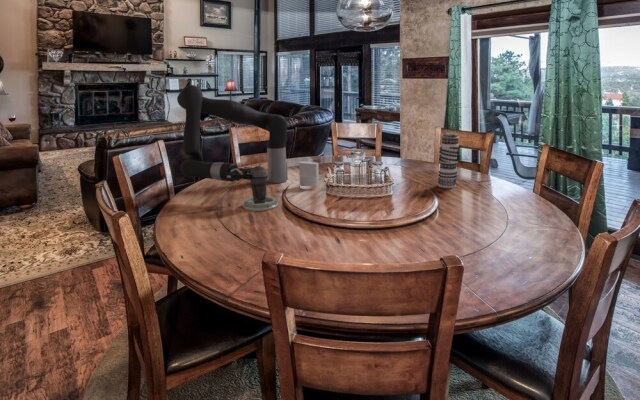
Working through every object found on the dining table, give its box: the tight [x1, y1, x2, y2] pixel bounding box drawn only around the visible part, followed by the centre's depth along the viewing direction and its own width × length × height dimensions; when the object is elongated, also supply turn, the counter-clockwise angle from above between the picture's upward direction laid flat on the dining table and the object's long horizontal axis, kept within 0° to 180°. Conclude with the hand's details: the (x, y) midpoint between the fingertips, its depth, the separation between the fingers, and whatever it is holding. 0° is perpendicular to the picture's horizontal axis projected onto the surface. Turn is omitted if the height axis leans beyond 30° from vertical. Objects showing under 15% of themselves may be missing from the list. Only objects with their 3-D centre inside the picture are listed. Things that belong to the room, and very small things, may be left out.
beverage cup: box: [250, 154, 268, 204], centre depth 177 cm, size 7×7×20 cm
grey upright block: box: [298, 161, 319, 186], centre depth 208 cm, size 9×9×12 cm
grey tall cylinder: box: [437, 132, 461, 189], centre depth 207 cm, size 9×9×25 cm
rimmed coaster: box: [242, 195, 279, 212], centre depth 180 cm, size 14×14×2 cm
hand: (257, 174), depth 177 cm, fingers open, 8 cm apart
